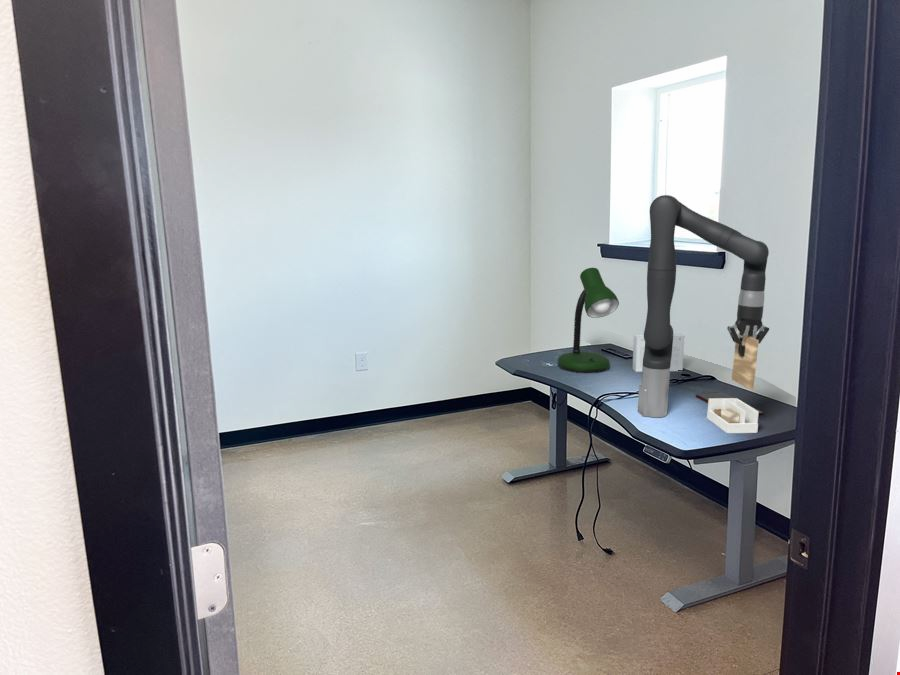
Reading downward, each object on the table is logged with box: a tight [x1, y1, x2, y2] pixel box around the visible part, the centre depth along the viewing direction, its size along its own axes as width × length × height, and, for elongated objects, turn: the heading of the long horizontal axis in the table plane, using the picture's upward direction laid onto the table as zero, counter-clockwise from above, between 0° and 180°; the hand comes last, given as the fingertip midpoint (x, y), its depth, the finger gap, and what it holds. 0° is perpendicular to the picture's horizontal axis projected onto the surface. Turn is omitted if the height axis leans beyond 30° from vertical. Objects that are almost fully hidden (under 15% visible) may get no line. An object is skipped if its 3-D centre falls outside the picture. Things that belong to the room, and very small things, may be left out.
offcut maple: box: [721, 408, 740, 422], centre depth 216 cm, size 3×5×3 cm
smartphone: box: [695, 391, 765, 416], centre depth 240 cm, size 12×2×25 cm
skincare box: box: [632, 333, 685, 373], centre depth 287 cm, size 21×6×16 cm, turn 92°
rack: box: [706, 397, 759, 434], centre depth 218 cm, size 10×15×7 cm, turn 3°
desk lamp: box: [557, 267, 620, 374], centre depth 286 cm, size 31×23×45 cm
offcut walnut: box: [714, 409, 721, 417], centre depth 222 cm, size 3×3×4 cm
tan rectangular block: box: [731, 332, 759, 390], centre depth 214 cm, size 2×11×16 cm, turn 3°
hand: (745, 355), depth 214 cm, fingers closed on tan rectangular block, 2 cm apart
